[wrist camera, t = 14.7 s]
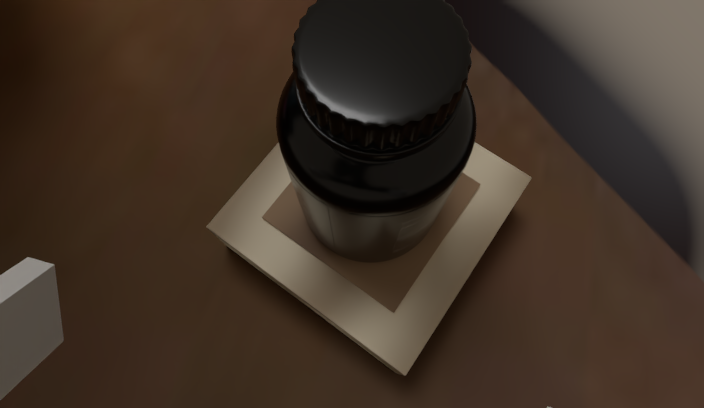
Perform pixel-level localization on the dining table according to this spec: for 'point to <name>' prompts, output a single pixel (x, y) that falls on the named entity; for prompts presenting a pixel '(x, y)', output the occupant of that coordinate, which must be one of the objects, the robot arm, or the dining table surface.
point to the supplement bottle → (376, 121)
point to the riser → (371, 278)
